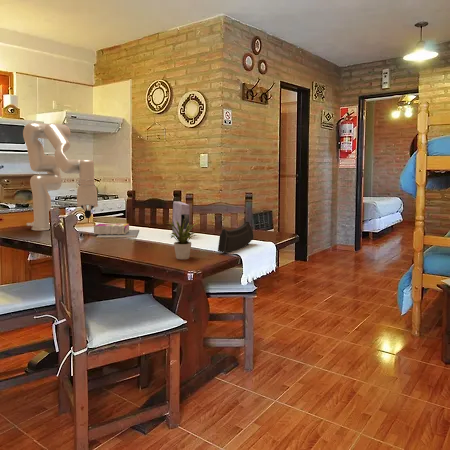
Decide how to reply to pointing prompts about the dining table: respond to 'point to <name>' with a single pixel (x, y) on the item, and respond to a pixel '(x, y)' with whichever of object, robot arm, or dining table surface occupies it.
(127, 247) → the dining table surface
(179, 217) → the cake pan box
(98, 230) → the candy bar box
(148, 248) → the dining table surface
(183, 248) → the house plant
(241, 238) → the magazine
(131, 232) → the mat
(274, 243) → the dining table surface
